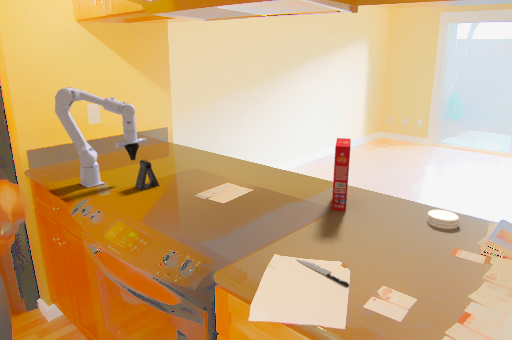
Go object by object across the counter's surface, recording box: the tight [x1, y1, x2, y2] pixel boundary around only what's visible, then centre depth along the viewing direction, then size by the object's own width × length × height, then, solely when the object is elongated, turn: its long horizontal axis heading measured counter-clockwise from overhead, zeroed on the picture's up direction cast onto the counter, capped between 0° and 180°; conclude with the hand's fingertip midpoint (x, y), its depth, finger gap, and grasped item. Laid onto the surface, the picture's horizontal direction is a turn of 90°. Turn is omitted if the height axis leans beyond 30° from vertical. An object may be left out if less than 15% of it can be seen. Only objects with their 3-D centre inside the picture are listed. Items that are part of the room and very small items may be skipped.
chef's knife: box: [295, 259, 350, 287], centre depth 103 cm, size 19×1×3 cm
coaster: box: [426, 209, 460, 230], centre depth 131 cm, size 10×10×4 cm
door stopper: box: [135, 159, 160, 191], centre depth 168 cm, size 9×6×12 cm, turn 128°
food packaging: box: [331, 137, 352, 212], centre depth 146 cm, size 15×5×25 cm, turn 166°
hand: (132, 159), depth 174 cm, fingers closed
